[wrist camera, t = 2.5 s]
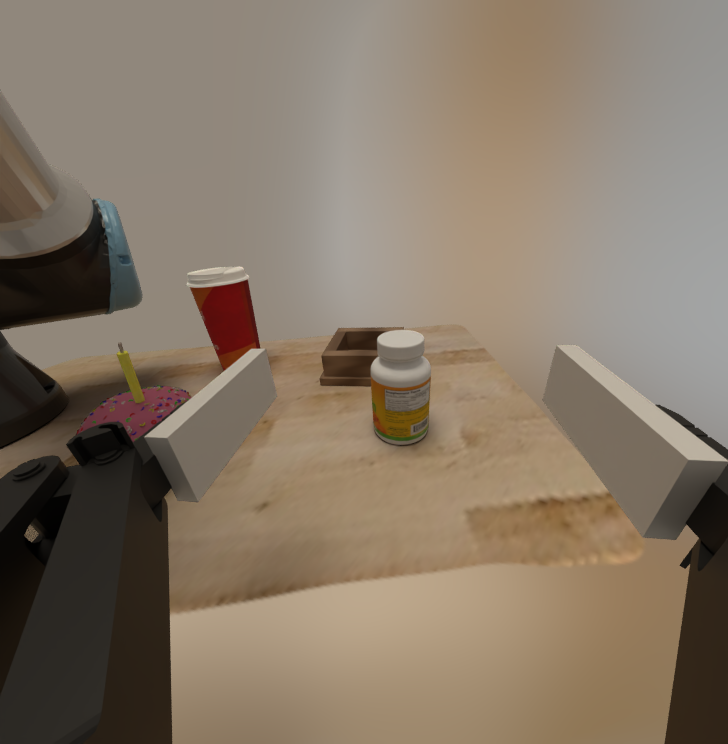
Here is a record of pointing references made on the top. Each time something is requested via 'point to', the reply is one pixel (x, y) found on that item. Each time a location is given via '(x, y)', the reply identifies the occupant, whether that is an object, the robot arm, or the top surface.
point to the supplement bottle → (400, 387)
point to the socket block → (351, 356)
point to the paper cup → (226, 311)
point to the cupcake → (136, 403)
